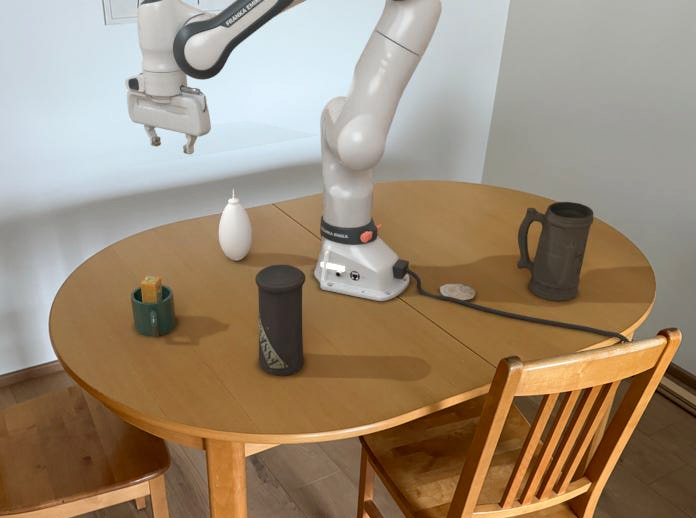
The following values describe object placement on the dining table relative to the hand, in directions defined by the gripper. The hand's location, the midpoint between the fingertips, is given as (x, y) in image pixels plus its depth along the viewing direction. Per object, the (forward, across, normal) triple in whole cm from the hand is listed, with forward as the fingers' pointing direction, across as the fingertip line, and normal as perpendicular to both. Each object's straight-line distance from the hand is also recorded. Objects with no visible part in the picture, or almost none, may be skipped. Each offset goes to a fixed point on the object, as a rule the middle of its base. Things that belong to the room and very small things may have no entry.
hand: (172, 149), depth 154 cm
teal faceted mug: (+29, -13, +24) cm, 40 cm away
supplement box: (+28, -12, +23) cm, 38 cm away
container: (+29, -42, +20) cm, 55 cm away
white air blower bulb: (+29, -8, -11) cm, 32 cm away
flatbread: (+29, -60, -24) cm, 71 cm away
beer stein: (+29, -75, -38) cm, 89 cm away
